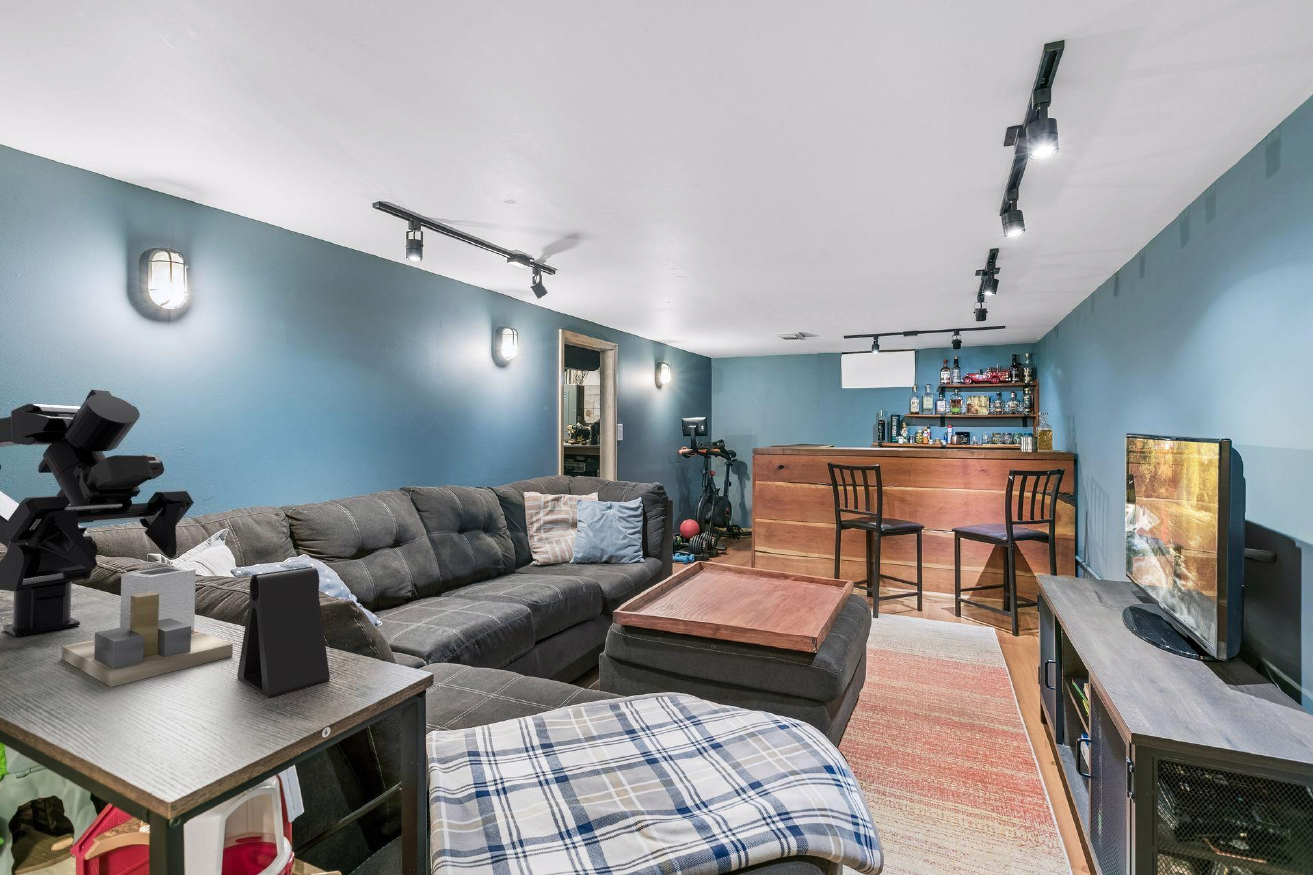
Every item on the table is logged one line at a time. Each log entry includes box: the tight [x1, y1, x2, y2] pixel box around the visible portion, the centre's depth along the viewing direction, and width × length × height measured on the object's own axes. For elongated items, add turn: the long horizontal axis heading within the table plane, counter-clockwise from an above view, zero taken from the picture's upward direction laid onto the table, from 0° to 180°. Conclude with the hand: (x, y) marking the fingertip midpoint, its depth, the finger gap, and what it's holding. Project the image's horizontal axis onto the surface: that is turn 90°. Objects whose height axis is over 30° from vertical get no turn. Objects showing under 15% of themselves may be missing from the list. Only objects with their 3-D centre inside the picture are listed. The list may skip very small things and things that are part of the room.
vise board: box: [61, 592, 234, 688], centre depth 73 cm, size 16×12×8 cm
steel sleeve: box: [119, 565, 197, 631], centre depth 77 cm, size 5×5×8 cm
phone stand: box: [236, 566, 331, 699], centre depth 67 cm, size 9×6×12 cm, turn 52°
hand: (136, 561), depth 79 cm, fingers open, 9 cm apart
